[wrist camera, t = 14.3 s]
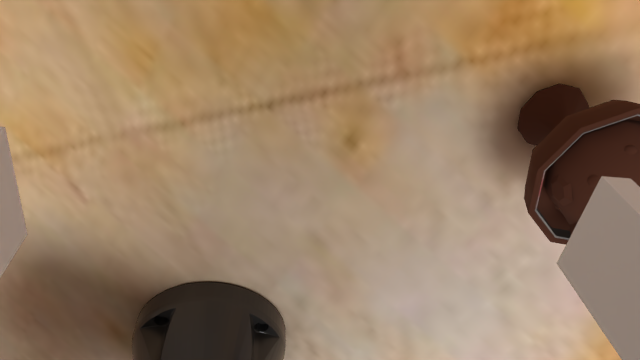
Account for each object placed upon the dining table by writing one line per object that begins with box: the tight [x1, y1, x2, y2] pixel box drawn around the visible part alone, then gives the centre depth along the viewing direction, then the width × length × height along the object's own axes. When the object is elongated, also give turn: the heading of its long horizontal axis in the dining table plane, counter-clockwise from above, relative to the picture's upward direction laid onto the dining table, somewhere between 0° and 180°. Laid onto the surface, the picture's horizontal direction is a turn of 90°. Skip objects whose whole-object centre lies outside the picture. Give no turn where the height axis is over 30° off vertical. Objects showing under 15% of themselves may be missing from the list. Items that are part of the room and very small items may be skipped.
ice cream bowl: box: [518, 84, 640, 244], centre depth 35 cm, size 11×11×15 cm
